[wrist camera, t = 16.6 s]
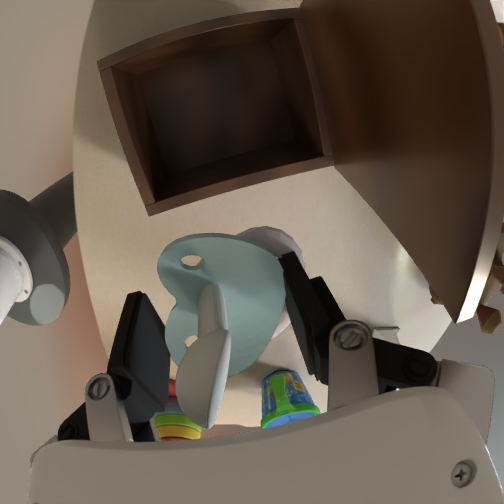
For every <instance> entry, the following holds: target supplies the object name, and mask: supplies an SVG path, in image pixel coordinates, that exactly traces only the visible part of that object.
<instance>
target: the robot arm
mask: <svg viewBox="0 0 504 504" xmlns="http://www.w3.org/2000/svg"><path fill="white" fill-rule="evenodd" d="M278 261H279V262H280V264H281V267H282V269H283V271H284V272H283V279H284V286H285V292H286V296H285V303H286V307H287V313H288V316H289V318H290V321H291V324H292V327H293V330H294V333H295V335H296V338H297V341H298V344H299V347H300V350H301V352H302V355H303V358H304V361H305V364H306V367H307V370H308V373H309V375H313V374H315V377H316V380H317V381H318V380H320V382H321V383H323V384H325V385H328V405H327V412H325V413H322V414H319V415H315V416H312V417H308V418H305V419H301V420H298V421H294V422H290V423H286V424H282V425H278V426H273V427H269V428H264V429H260V430H254V431H249V432H244V433H238V434H232V435H225V436H218V437H210V438H202V439H192V440H180V441H161V439H160V436H159V433H158V430H157V427H156V424H155V421H154V418H153V416H154V413H156V412H165V405H167V404H168V393H169V372H170V356H171V354H170V352H169V349H168V347H167V345H166V341H165V328H166V327H165V325H164V324H163V322H162V320H161V319H160V317H159V315H158V314H157V312H156V310H155V309H154V307H153V305H152V303H151V302H150V300H149V298H148V296H147V295H146V294H145V293H142V292H141V291H137V292H133V293H129V294H128V295H127V297H126V301H125V304H124V307H123V310H122V314H121V317H120V321H119V324H118V328H117V331H116V335H115V338H114V342H113V346H112V350H111V354H110V358H109V362H108V367H107V373H101V374H97V375H96V376H94V377H92V378H91V379H90V380H89V382H88V384H87V385H86V388H85V402H84V403H83V404H82V405H81V406H80V407H79V408H78V409H77V410H76V411H75V412H74V413H72V414H71V415H70V416H69V417H68V418H67V419H66V420H65V421H64V422H63V423H62V424H61V426H60V427H59V430H58V436H57V435H54V436H53V437H52V438H51V439H49V440H48V441H47V442H46V443H45V444H44V445H42V446H41V447H40V448H39V449H38V450H37V451H35V452H34V453H33V454H32V456H31V458H30V466H31V473H30V479H29V487H28V504H504V493H503V490H502V487H501V483H500V480H499V477H498V475H497V472H496V470H495V467H494V464H493V462H492V460H491V457H490V455H489V452H488V450H487V447H486V443H487V438H488V433H489V428H490V422H491V414H492V407H493V399H494V387H495V378H494V374H493V373H492V371H491V370H490V369H489V368H488V367H485V366H481V365H475V364H469V363H463V362H457V361H451V360H446V359H442V361H436V360H435V359H434V357H433V356H432V355H431V354H429V353H428V352H425V351H422V350H419V349H415V348H411V347H407V346H403V345H400V344H396V343H392V342H389V341H385V340H381V339H378V338H374V337H373V335H372V332H371V329H370V328H369V327H368V326H367V325H366V324H365V323H363V322H361V321H357V320H346V319H345V317H344V315H343V313H342V311H341V310H340V308H339V306H338V304H337V302H336V301H335V299H334V297H333V295H332V294H331V292H330V290H329V288H328V287H327V285H326V283H325V282H324V280H323V278H322V277H321V276H319V277H316V278H312V279H309V278H308V276H307V274H306V272H305V270H304V268H303V266H302V264H301V262H300V261H299V259H298V257H297V255H296V253H295V251H292V252H289V253H286V254H283V255H282V258H278ZM32 288H33V279H32V274H31V270H30V268H29V266H28V263H27V261H26V260H25V258H24V256H23V255H22V253H21V252H20V250H19V249H18V248H17V247H16V246H15V245H14V244H13V243H12V242H11V241H9V240H8V239H6V238H5V237H3V236H0V325H1V323H2V321H3V320H4V318H5V316H6V315H7V313H8V311H9V310H10V308H11V307H12V305H13V303H14V302H22V301H24V300H26V299H27V298H28V297H29V295H30V293H31V292H32Z"/></svg>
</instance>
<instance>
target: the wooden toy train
mask: <svg viewBox="0 0 504 504" xmlns="http://www.w3.org/2000/svg"><path fill="white" fill-rule="evenodd" d="M503 252H504V222H502V227H501V231H500V236H499V240H498V244H497V248H496V251H495V255H494V259H493V262H492V265H491V269H490V272H489V275H488V278H487V281H486V284H485V287H484V289H483V292H482V295H481V297H480V300H479V303H478V305H477V308H476V310H475V312H474V315H473V317H471V318H475V317H477V316H478V319H479V322H480V326H481V330H482V332H484V333H488V334H495V333H496V332H497V331H498V329H499V328H500V327H501V325H502V321H501V314H500V311H499V310H497V309H494V308H491V307H488V306H486V304H487V303H488V301H489V299H490V298H491V296H492V295H493V293H494V292H495V290H496V288H497V287H498V285H499V283H501V284H502V287H501V289H500V291H501V292H502V293H503V294H504V265H503V264H502V260H501V259H502V257H501V256H502V254H503ZM429 290H430V293H431V296H432V298H431V301H432V302H433V303H434V304H441V305H443V304H442V302H441V300H440V299H439V297H438V296H437V294H436V293H435V291H434V290H433V288H432V287H431V285H430V284H429Z"/></svg>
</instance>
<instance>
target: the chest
mask: <svg viewBox="0 0 504 504" xmlns="http://www.w3.org/2000/svg"><path fill="white" fill-rule="evenodd" d="M97 64H98V68H99V71H100V75H101V79H102V83H103V86H104V90H105V94H106V97H107V100H108V104H109V107H110V110H111V114H112V117H113V120H114V123H115V126H116V129H117V132H118V135H119V138H120V141H121V144H122V147H123V150H124V153H125V156H126V158H127V161H128V164H129V167H130V169H131V172H132V175H133V177H134V180H135V183H136V185H137V188H138V190H139V193H140V195H141V198H142V200H143V203H144V205H145V208H146V211H147V213H148V215H149V216H152V215H155V214H158V213H161V212H164V211H167V210H170V209H173V208H176V207H179V206H182V205H186V204H189V203H192V202H195V201H198V200H202V199H205V198H208V197H212V196H215V195H219V194H222V193H225V192H229V191H232V190H236V189H240V188H243V187H247V186H251V185H254V184H258V183H262V182H266V181H270V180H274V179H278V178H282V177H286V176H290V175H294V174H298V173H303V172H307V171H311V170H316V169H320V168H325V167H329V166H334V161H333V154H332V147H331V141H330V135H329V129H328V123H327V117H326V112H325V106H324V101H323V96H322V91H321V87H320V82H319V77H318V73H317V69H316V64H315V60H314V56H313V52H312V48H311V45H310V41H309V37H308V34H307V30H306V26H305V23H304V20H303V16H302V13H301V10H300V8H288V9H276V10H266V11H258V12H250V13H244V14H238V15H232V16H227V17H222V18H217V19H213V20H208V21H204V22H200V23H196V24H193V25H189V26H185V27H182V28H179V29H175V30H172V31H169V32H166V33H163V34H160V35H157V36H154V37H152V38H149V39H146V40H144V41H141V42H139V43H136V44H134V45H131V46H129V47H127V48H124V49H122V50H120V51H118V52H115V53H113V54H111V55H109V56H107V57H105V58H103V59H101V60H99V61H97Z"/></svg>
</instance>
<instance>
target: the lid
mask: <svg viewBox="0 0 504 504" xmlns="http://www.w3.org/2000/svg"><path fill="white" fill-rule="evenodd" d="M300 10H301V13H302V16H303V20H304V23H305V26H306V30H307V34H308V37H309V41H310V45H311V48H312V52H313V56H314V60H315V64H316V69H317V73H318V77H319V82H320V87H321V91H322V96H323V101H324V106H325V112H326V117H327V123H328V129H329V135H330V141H331V147H332V154H333V161H334V167H335V168H336V169H337V170H338V171H339V172H340V174H341V175H342V176H343V177H344V178H345V179H346V180H347V181H348V182H349V183H350V184H351V185H352V186H353V187H354V189H355V190H356V191H357V192H358V193H359V194H360V195H361V196H362V197H363V199H364V200H365V201H366V202H367V203H368V204H369V205H370V207H371V208H372V209H373V210H374V211H375V212H376V214H377V215H378V216H379V217H380V218H381V220H382V221H383V222H384V223H385V225H386V226H387V227H388V228H389V229H390V231H391V232H392V233H393V234H394V236H395V237H396V238H397V240H398V241H399V242H400V243H401V245H402V246H403V247H404V249H405V250H406V251H407V253H408V254H409V255H410V257H411V258H412V259H413V261H414V262H415V264H416V265H417V266H418V268H419V269H420V271H421V272H422V273H423V275H424V276H425V278H426V279H427V281H428V282H429V284H430V285H431V287H432V288H433V290H434V291H435V293H436V294H437V296H438V297H439V299H440V300H441V302H442V304H443V305H444V307H445V308H446V310H447V312H448V313H449V315H450V317H451V318H452V320H453V322H454V323H455V324H456V323H459V322H462V321H464V320H467V319H469V318H471V317H473V315H474V312H475V310H476V308H477V305H478V303H479V300H480V297H481V295H482V292H483V289H484V287H485V284H486V281H487V278H488V275H489V272H490V269H491V265H492V262H493V259H494V255H495V251H496V248H497V244H498V240H499V236H500V231H501V227H502V222H503V217H504V23H501V22H497V21H496V17H495V14H494V11H493V8H492V5H491V2H490V0H303V1H302V3H301V4H300Z"/></svg>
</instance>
